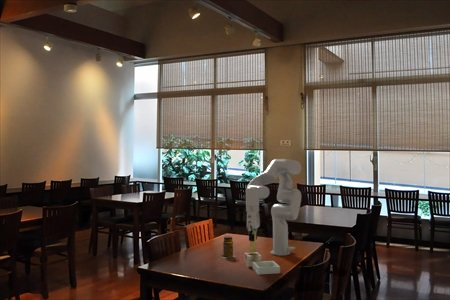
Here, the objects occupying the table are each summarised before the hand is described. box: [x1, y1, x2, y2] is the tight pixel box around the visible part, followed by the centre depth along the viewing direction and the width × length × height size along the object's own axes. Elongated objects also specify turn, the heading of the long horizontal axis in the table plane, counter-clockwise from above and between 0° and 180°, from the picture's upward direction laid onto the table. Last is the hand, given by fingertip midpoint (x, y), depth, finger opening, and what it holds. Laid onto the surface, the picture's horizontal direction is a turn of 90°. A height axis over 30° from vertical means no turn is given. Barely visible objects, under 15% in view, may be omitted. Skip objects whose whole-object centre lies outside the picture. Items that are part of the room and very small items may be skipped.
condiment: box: [218, 236, 236, 259], centre depth 247 cm, size 7×8×12 cm
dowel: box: [249, 230, 257, 253], centre depth 228 cm, size 4×4×12 cm
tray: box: [252, 260, 281, 276], centre depth 216 cm, size 12×12×4 cm
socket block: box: [243, 251, 262, 268], centre depth 228 cm, size 8×8×6 cm
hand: (253, 239), depth 228 cm, fingers closed on dowel, 3 cm apart
